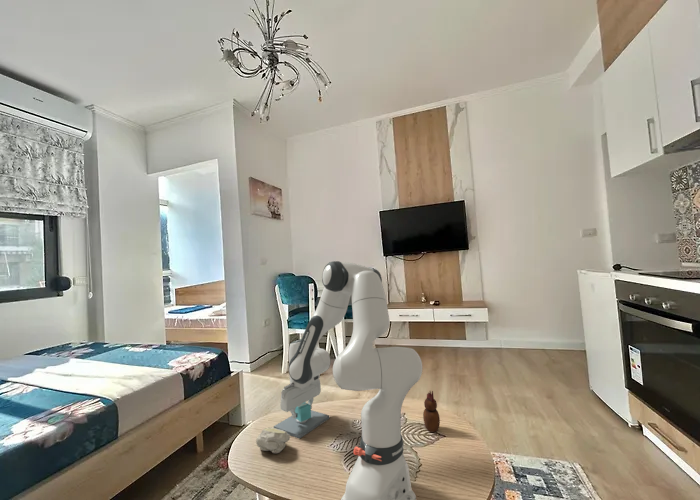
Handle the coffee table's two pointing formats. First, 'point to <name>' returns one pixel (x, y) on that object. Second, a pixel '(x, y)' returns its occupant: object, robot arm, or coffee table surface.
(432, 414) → the wooden figurine
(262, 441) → the fossil replica
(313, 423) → the toggle switch board
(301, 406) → the teal slotted cube
